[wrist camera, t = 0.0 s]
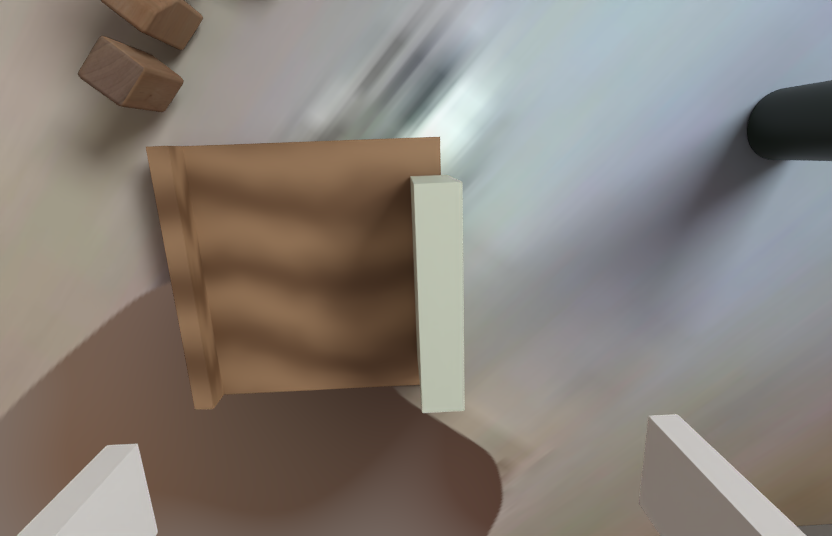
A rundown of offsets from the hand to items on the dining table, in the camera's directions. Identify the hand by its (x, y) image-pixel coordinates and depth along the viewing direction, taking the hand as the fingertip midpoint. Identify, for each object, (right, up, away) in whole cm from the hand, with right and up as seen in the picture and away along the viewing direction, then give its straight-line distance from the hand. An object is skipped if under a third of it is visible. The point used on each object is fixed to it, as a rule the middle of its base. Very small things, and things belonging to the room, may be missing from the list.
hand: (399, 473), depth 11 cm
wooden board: (-8, +5, +27) cm, 29 cm away
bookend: (+2, +5, +26) cm, 27 cm away
